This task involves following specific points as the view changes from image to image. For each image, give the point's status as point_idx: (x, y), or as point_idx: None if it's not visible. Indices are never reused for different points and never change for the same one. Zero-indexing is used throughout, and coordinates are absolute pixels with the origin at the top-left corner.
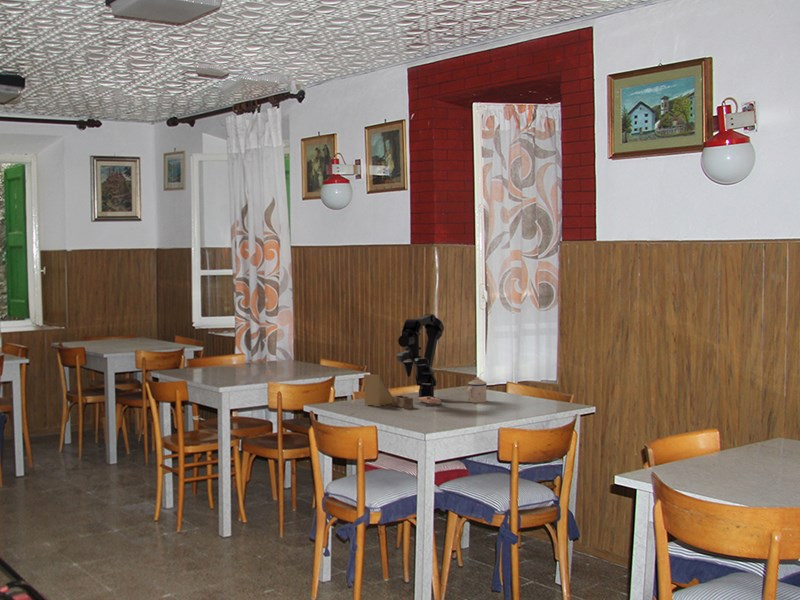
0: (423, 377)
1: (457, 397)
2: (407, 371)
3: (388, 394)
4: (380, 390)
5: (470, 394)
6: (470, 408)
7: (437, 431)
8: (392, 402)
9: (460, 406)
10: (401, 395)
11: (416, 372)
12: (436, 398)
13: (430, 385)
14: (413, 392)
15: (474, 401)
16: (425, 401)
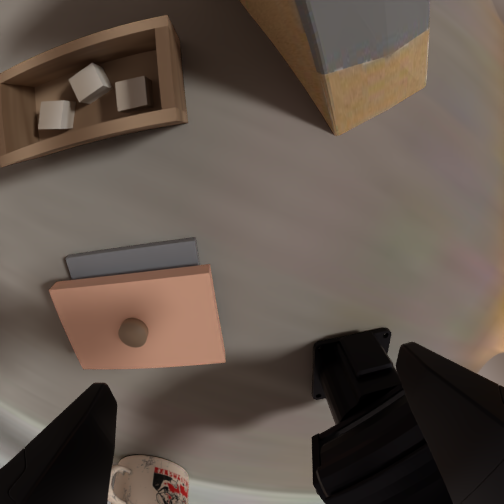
0: (361, 455)
1: (279, 457)
2: (447, 393)
3: (289, 16)
4: None
5: (133, 480)
6: (6, 392)
7: None
8: (304, 84)
9: (46, 392)
10: (170, 108)
11: (58, 451)
12: (123, 367)
13: (325, 435)
14: (492, 341)
15: (122, 460)
16: (87, 281)
